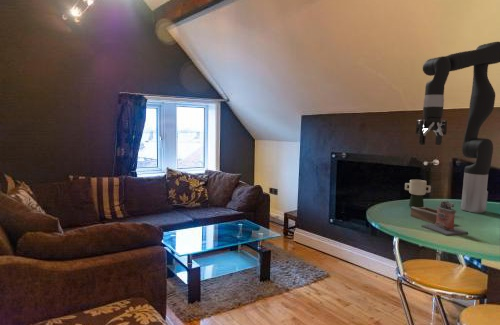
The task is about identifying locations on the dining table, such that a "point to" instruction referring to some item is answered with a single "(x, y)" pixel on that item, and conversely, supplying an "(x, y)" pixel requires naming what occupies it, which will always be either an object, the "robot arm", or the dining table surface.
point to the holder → (424, 214)
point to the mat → (444, 232)
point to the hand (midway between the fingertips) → (430, 144)
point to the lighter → (445, 216)
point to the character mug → (417, 192)
